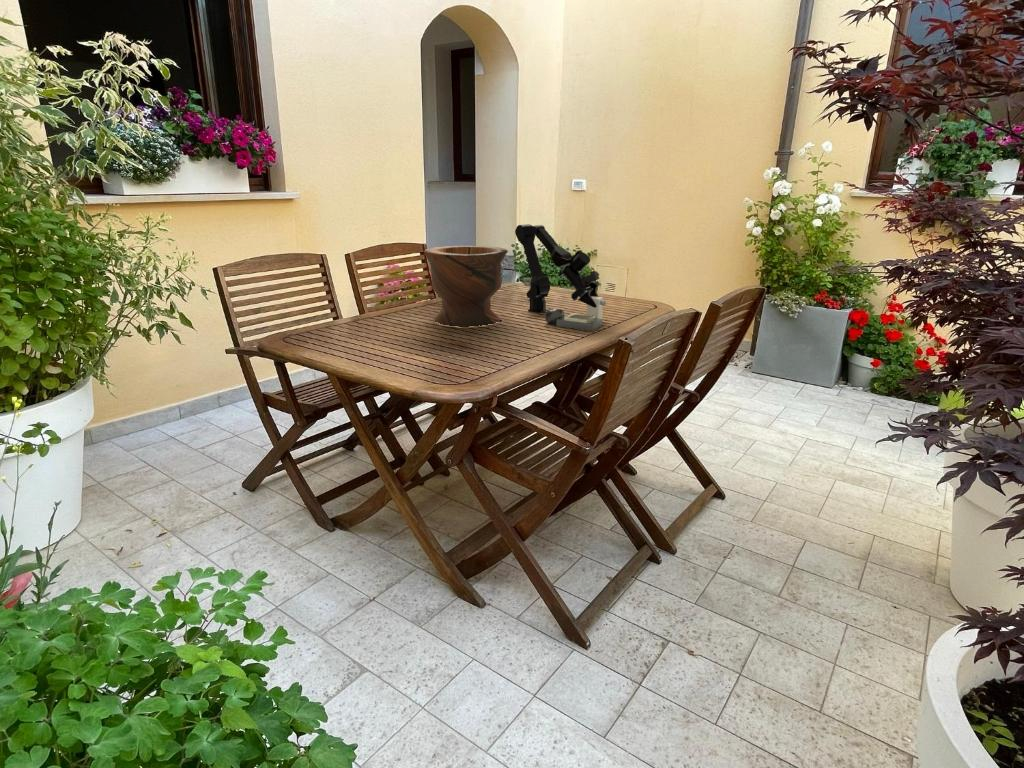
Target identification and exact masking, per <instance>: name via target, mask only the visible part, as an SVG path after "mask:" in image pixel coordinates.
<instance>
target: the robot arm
mask: <svg viewBox="0 0 1024 768" xmlns="http://www.w3.org/2000/svg"><path fill="white" fill-rule="evenodd" d="M514 233H515V237H516V239H517V241H518V242H519V244H521V245H522V247H523V250H524V253H525V257H526V261H527V265H528V268H529V272H530V275H531V277H530V278H531V282H530V285H531V289H530V288H529V289H528V291H527V292H526V297H527V299H529V309H527V312H533V313H542V312H546V311H547V306H546V305H547V301H546V298H547V297H548V296H549V293H550V291H551V282H550V278H549V276H547V275H546V276H545V275H544V274H543V271H542V267H541V264H540V260H539V257H538V253H537V250H536V246H535V240H536V238H537V239H538V241H539V242H540V243H541V244H542V245H543V246H544V248H545V249H546V251H547V252H548V253H549V254H550V259H551V261H552V263H553V264H554V266H555V267H557V268H561V267H564V268H561V269H558V277H559V278H561V277H562V276H564V277H565V279H566V280H567V281H568V282H569V283H570V284H569V286H570V287H573V288H574V289H575V290H574V291H573V292H572V293H571V294H570V295H571V300H573V301H578V302H582V303H584V304H586V305H587V304H588V305H590V306H592V307H594V308H596V307H597V306H596V304H595V302H594V301H593V299H592V297H591V296H596V297H599V295H598V288H599V286H601V285H600V283H599V282H598V280H600V273H599V272H598V271H596V270H593V271H590V274H588V275H585V274H583V273H580V272H581V271H583V270H584V269H585V268H586V267H587V266H588V265H589V263H590V262H591V258H590V256H589V255H588V254H586V253H585V252H583V250H577V251H576V252H575V254H573V255H572V254H571V253H570V252H569V251H568V250H567V249H565V248H563V247H561V246H560V245H558V243H557V242H556V241H555V239H554V238H553V237H552V236H551V235H550V234H549V232H548V231H547V230H546V227H545V226H544V225H543V224H542V225H541V224H539V225H532V224H530V223H529V224H518V225H516V228H515V230H514Z"/></svg>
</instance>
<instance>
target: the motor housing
mask: <svg viewBox="0 0 1024 768" xmlns="http://www.w3.org/2000/svg"><path fill="white" fill-rule="evenodd" d="M544 317H545V322H546V323H549V324H556V326H557V327H556V328H563V327H565V328H564V329H571V328H575V329H574V330H579V329H583V330H582V331H586V330H591V331H590V332H594V331H596V330H598V329H600V328H601V327H602V326H603V318H602V319H599V318H595V316H593V315H587V314H583V313H575V312H574V313H571V314H565V310H563V309H559V308H546V310H545V316H544ZM600 326H601V327H600ZM597 328H598V329H597ZM595 329H596V330H595Z"/></svg>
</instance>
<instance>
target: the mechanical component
mask: <svg viewBox="0 0 1024 768" xmlns="http://www.w3.org/2000/svg"><path fill="white" fill-rule="evenodd" d="M531 278H532V277H523V278H522V279H521V282H522V283H523V285H524V287H529V290H530V289H531V285H530V282H531ZM527 281H528V282H527Z"/></svg>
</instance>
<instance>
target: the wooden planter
mask: <svg viewBox="0 0 1024 768" xmlns="http://www.w3.org/2000/svg"><path fill="white" fill-rule="evenodd" d="M423 254H424V255H425V257H426V259H427V260H428V261H429V263H430V274H431V275H430V276H431V289H432V290H433V291H434V292H435V293H436V294H437V295H438V297H440V299H441V309H439V312H438V313H437V314H436V316H435V317H434V318H435V322H438V323H440V324H443V325H449V326H459V327H469V326H479V325H480V326H482V325H488V324H494V323H496V322H498V321H500V319H501V317H500V316H499V315H498V314H496V312H494V310H492V309H491V304H492V303H491V298H492V297H493V296H494V295H495V294H496V293H497V292H498V291H500V289H501V287H502V263H503V260H504V259H505V257H506V255H507V254H508V250H507V249H506V248H503V247H498V246H486V245H485V246H484V245H447V246H446V245H445V246H435V247H431V248H426V249H425V250H424V251H423ZM499 317H500V318H499Z"/></svg>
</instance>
